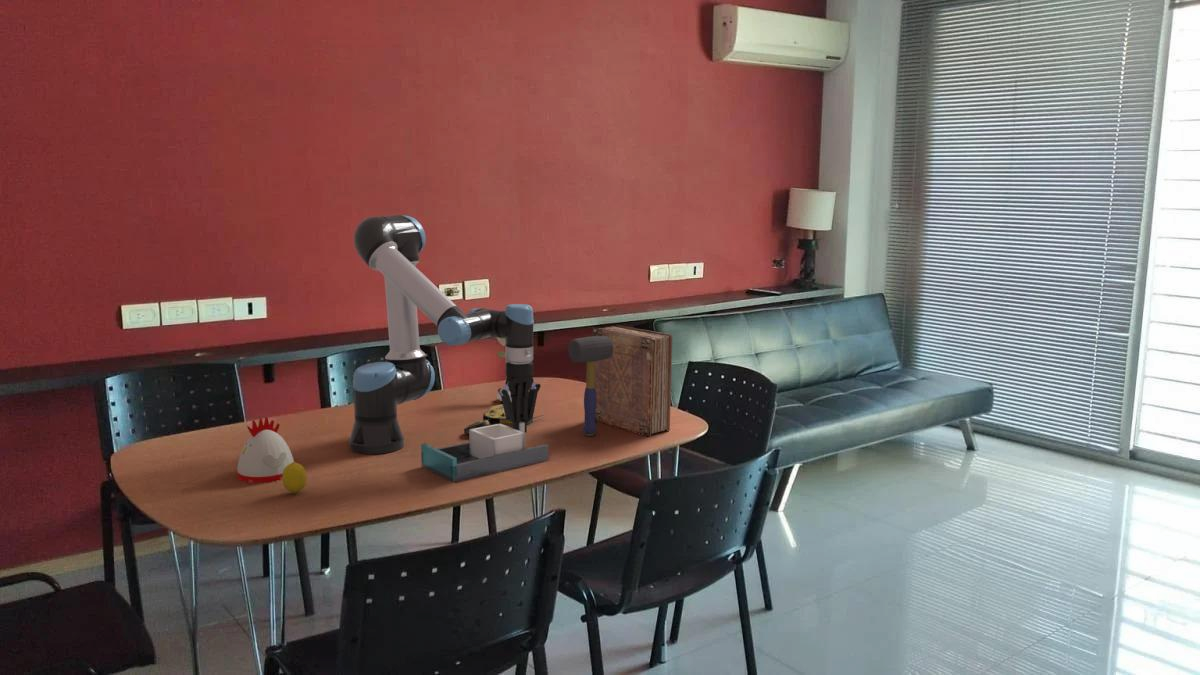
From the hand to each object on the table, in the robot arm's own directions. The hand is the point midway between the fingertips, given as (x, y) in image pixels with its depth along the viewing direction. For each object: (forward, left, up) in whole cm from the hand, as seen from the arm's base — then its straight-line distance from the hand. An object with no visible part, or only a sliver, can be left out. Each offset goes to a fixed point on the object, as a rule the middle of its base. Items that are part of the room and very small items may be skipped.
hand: (519, 444), depth 249 cm
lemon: (-58, -18, -3) cm, 61 cm away
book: (+39, +23, -3) cm, 45 cm away
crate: (-7, -3, -2) cm, 8 cm away
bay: (-10, -5, -3) cm, 12 cm away
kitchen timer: (-66, -1, -3) cm, 66 cm away
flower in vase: (+8, +61, -3) cm, 62 cm away
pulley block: (-1, +31, -4) cm, 31 cm away
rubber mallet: (+24, +15, -3) cm, 28 cm away
